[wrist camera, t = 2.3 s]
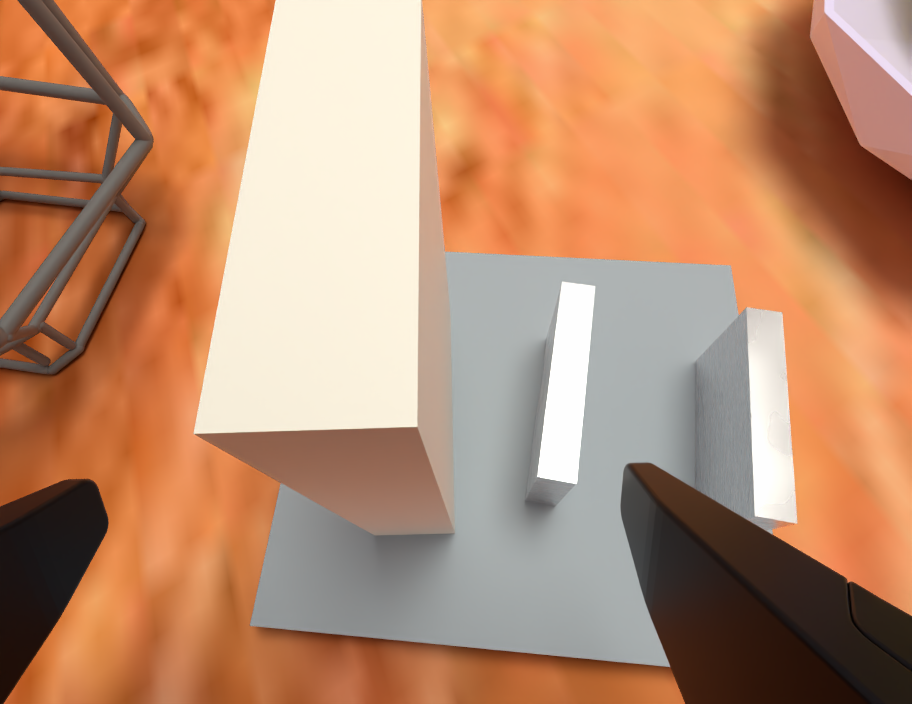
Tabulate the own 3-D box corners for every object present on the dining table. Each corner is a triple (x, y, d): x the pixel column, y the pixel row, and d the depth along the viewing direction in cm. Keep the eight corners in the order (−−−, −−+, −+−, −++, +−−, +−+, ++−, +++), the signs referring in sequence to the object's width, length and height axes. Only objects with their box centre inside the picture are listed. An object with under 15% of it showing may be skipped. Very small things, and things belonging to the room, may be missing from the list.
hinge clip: (727, 538, 17) (797, 523, 13) (524, 500, 17) (537, 476, 14) (723, 366, 19) (782, 312, 15) (546, 338, 20) (562, 281, 16)
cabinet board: (773, 673, 16) (795, 679, 15) (264, 623, 17) (249, 626, 16) (718, 281, 22) (730, 265, 21) (338, 262, 23) (332, 246, 22)
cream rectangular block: (455, 533, 17) (416, 426, 6) (343, 536, 17) (108, 436, 6) (450, 314, 20) (421, -9, 9) (357, 317, 20) (221, 1, 9)
